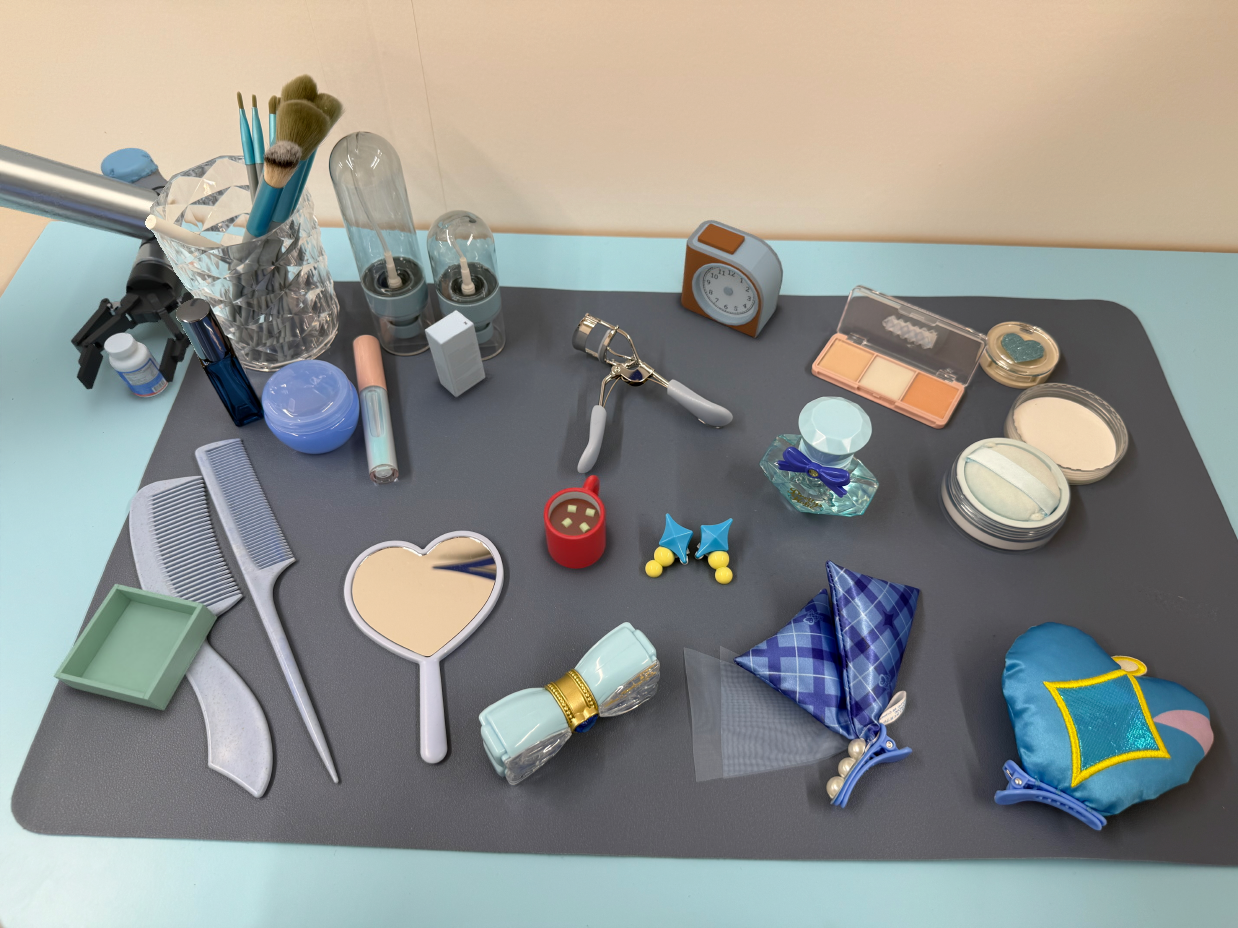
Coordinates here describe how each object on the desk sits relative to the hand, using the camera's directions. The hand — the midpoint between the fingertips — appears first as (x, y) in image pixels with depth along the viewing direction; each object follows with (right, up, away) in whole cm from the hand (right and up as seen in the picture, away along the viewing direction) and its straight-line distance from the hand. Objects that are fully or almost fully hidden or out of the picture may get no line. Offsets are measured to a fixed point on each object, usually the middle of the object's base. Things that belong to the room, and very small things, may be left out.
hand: (125, 379), depth 113 cm
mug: (+67, -22, -7) cm, 71 cm away
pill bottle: (-1, 0, +7) cm, 7 cm away
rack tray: (+14, -36, -18) cm, 42 cm away
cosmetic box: (+48, 0, +8) cm, 49 cm away
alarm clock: (+91, +14, +18) cm, 94 cm away
